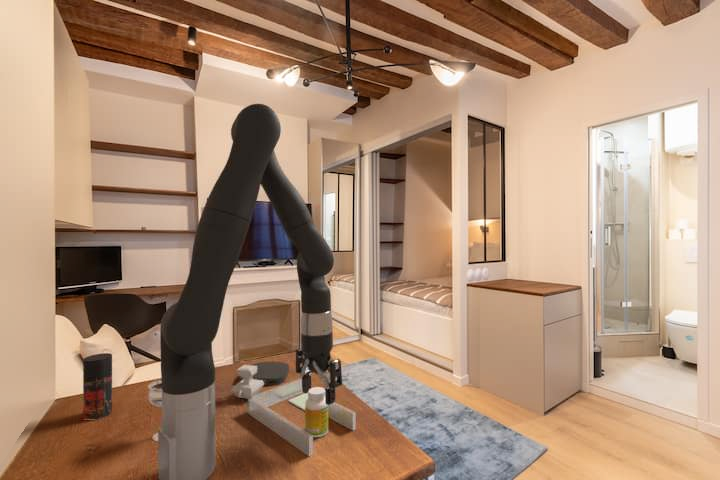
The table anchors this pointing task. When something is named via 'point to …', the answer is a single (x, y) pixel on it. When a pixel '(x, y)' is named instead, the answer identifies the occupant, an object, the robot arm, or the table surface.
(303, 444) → the channel
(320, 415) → the supplement bottle
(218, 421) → the table surface
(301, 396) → the pad
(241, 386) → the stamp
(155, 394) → the wineglass
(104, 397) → the deodorant
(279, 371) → the media streaming box
